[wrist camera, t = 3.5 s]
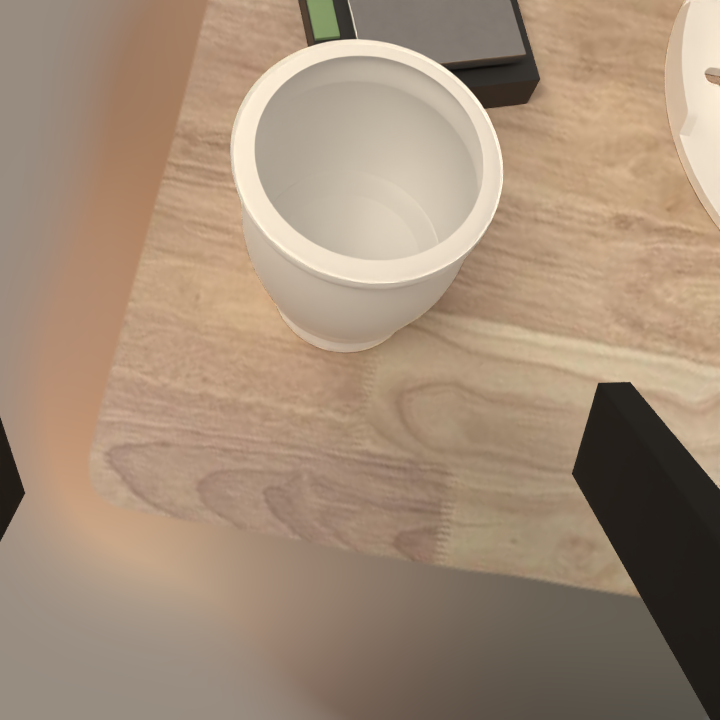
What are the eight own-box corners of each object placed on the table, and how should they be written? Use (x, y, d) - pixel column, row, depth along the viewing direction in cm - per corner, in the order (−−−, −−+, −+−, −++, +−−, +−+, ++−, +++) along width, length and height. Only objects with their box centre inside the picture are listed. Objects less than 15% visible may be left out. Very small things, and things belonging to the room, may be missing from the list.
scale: (287, -50, 43) (287, -86, 41) (478, -65, 45) (489, -100, 43) (324, 127, 40) (327, 101, 38) (526, 103, 42) (541, 77, 40)
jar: (222, 316, 37) (174, 193, 22) (307, 181, 39) (315, -8, 25) (379, 402, 37) (434, 335, 22) (455, 261, 39) (548, 117, 25)
